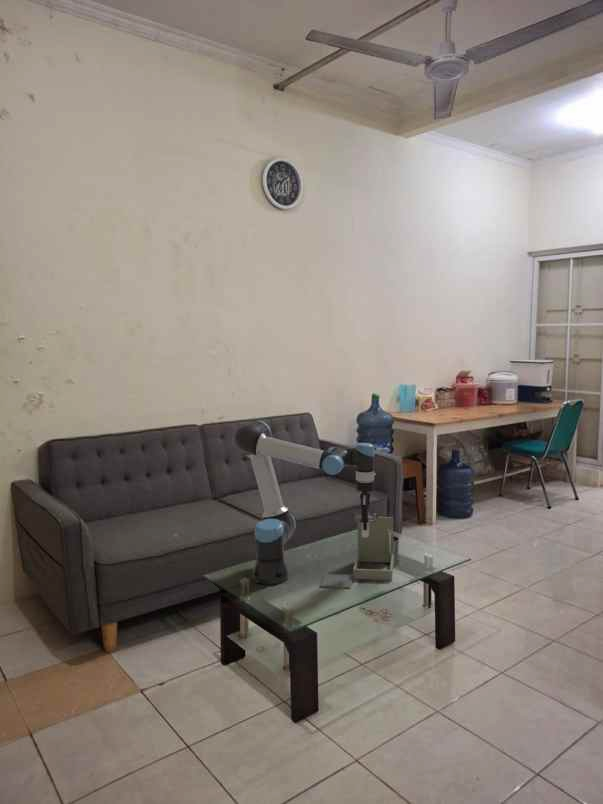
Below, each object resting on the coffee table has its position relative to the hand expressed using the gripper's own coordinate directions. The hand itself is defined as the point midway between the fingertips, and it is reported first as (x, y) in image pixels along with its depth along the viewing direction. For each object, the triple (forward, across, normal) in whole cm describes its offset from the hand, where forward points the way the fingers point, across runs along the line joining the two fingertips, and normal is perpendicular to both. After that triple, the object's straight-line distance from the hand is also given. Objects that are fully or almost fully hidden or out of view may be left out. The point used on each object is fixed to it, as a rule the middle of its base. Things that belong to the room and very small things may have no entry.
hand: (365, 535), depth 246 cm
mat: (+16, -11, +11) cm, 22 cm away
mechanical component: (+1, 0, 0) cm, 1 cm away
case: (+16, +2, -4) cm, 16 cm away
